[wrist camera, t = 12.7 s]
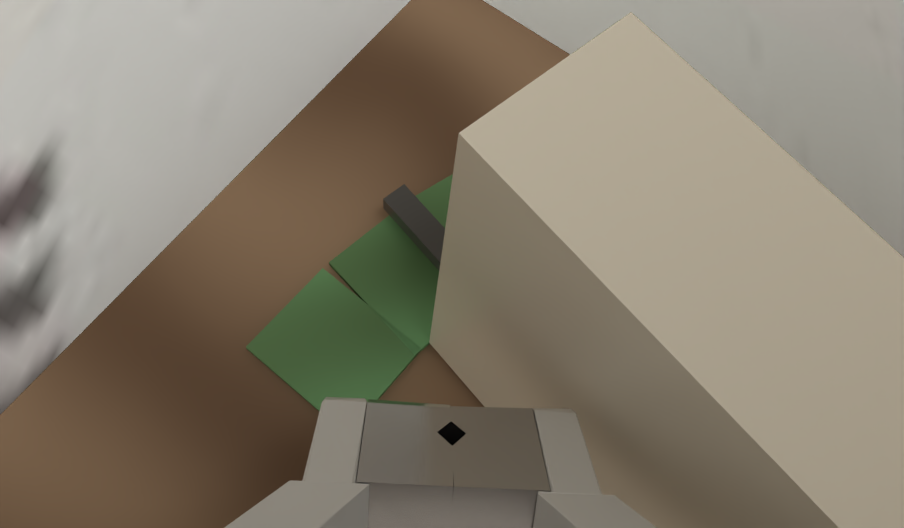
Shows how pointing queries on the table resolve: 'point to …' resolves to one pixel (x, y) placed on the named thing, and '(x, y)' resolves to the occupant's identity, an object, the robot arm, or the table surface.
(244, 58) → the table surface
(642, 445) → the toy meat cleaver
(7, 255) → the table surface
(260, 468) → the brown wooden board
